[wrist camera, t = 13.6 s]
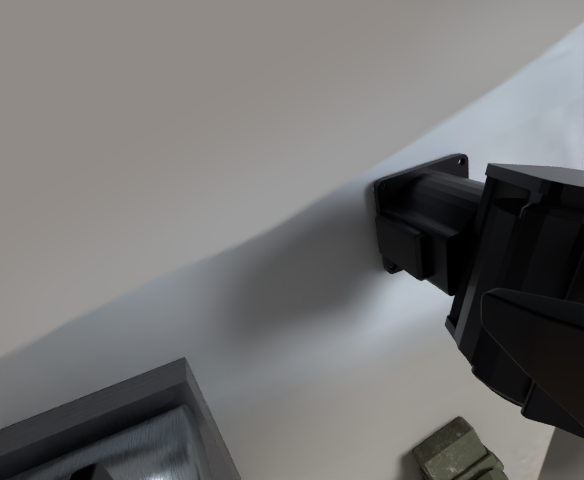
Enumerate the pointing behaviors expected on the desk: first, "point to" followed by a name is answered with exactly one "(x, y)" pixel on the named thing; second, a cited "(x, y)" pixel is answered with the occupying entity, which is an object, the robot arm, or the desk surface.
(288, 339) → the desk surface
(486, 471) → the mechanical leg
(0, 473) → the motor mount
